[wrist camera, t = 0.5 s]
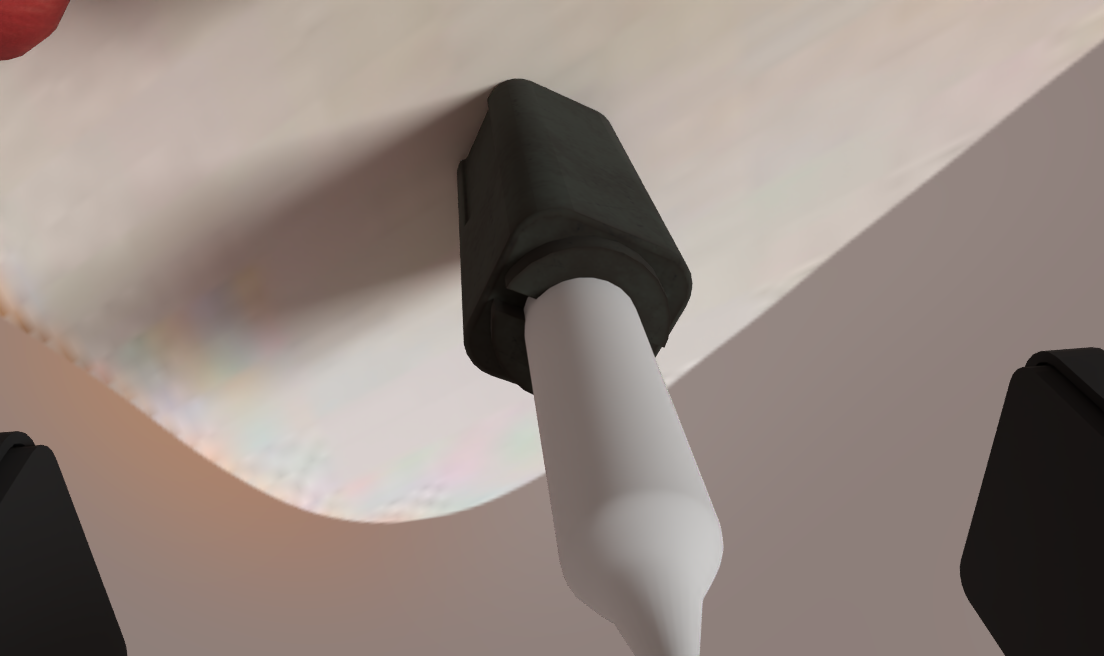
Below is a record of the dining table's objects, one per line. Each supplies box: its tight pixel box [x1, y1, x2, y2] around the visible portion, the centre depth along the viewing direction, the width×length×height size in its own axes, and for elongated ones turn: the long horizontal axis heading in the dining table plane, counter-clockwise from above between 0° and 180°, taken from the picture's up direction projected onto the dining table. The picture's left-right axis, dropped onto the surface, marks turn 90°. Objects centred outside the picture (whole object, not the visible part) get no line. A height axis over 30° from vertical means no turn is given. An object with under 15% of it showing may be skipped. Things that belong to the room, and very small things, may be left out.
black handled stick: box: [457, 79, 723, 656], centre depth 24 cm, size 5×5×25 cm
